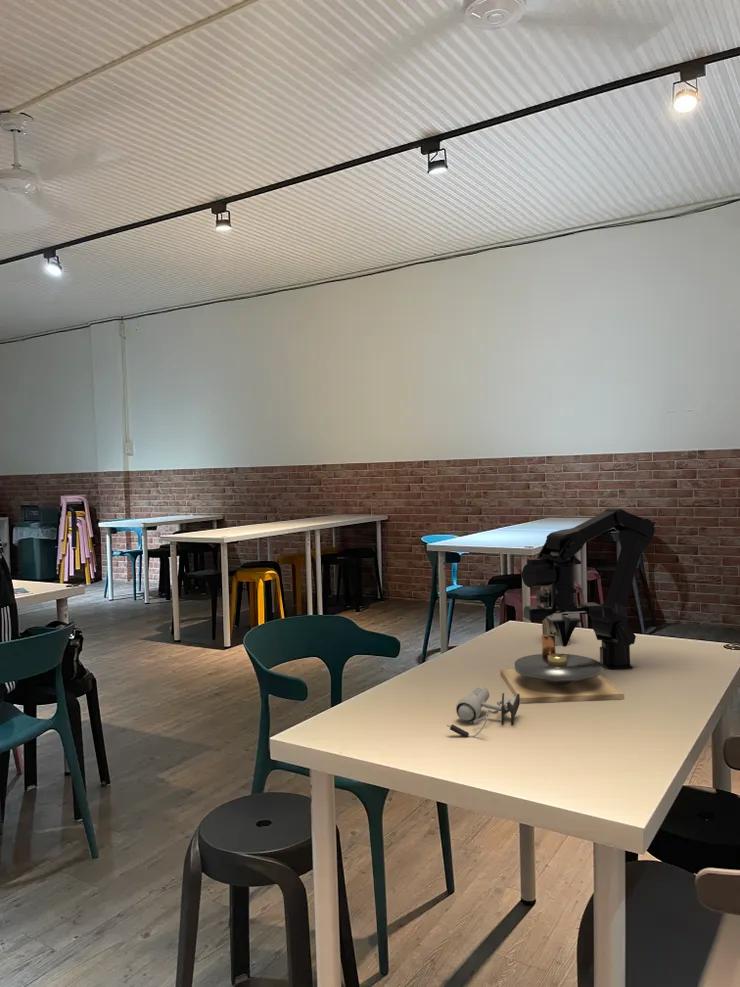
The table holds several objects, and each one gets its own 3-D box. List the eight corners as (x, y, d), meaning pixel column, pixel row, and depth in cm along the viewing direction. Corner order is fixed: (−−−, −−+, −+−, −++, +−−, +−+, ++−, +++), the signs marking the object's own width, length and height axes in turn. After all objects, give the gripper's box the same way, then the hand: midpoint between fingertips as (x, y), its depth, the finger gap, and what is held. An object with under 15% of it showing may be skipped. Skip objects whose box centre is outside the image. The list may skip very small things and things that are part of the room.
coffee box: (571, 645, 212) (569, 589, 211) (548, 645, 212) (547, 590, 211) (563, 637, 221) (561, 584, 220) (542, 638, 221) (540, 585, 220)
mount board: (591, 670, 185) (590, 656, 185) (623, 699, 162) (623, 682, 162) (500, 674, 184) (500, 659, 184) (520, 703, 162) (519, 686, 161)
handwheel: (614, 679, 163) (613, 652, 163) (525, 683, 163) (524, 655, 163) (586, 656, 183) (586, 632, 183) (507, 659, 183) (506, 635, 183)
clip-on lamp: (492, 758, 140) (525, 710, 154) (492, 729, 138) (524, 683, 153) (437, 742, 146) (473, 697, 160) (436, 714, 144) (472, 671, 159)
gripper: (585, 577, 189) (587, 636, 190) (515, 580, 187) (517, 641, 188) (604, 583, 178) (605, 647, 179) (529, 587, 176) (531, 651, 177)
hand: (564, 646), depth 181 cm, fingers closed
